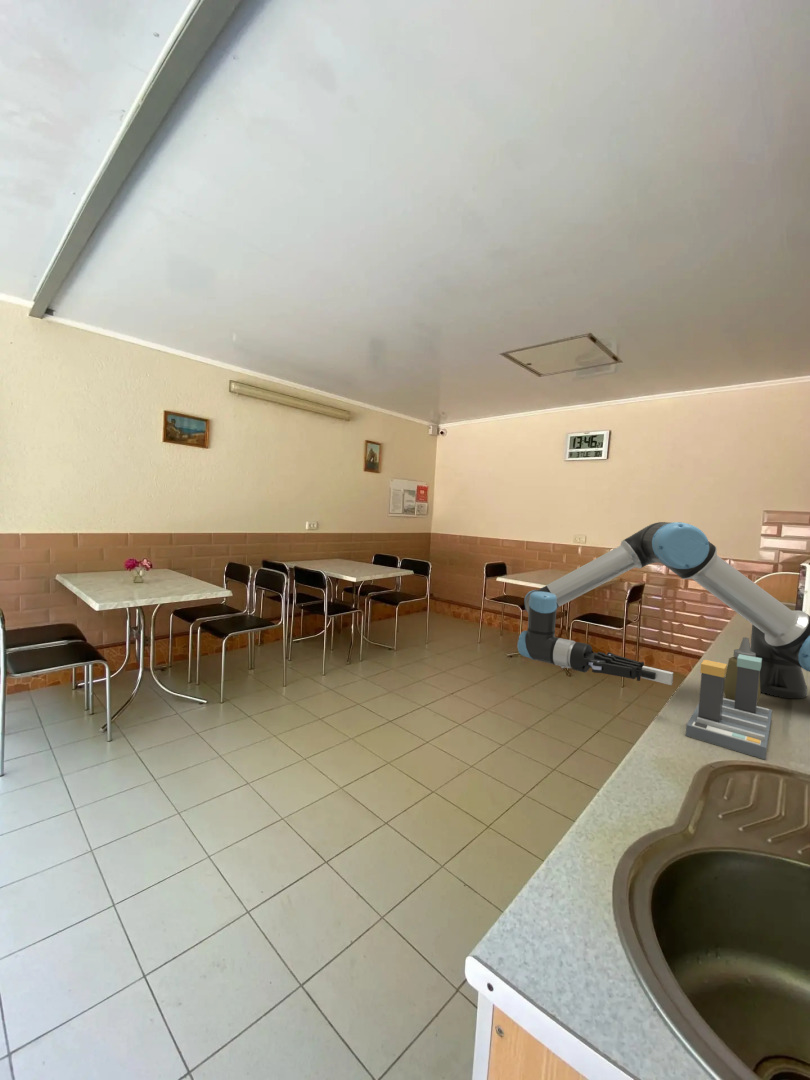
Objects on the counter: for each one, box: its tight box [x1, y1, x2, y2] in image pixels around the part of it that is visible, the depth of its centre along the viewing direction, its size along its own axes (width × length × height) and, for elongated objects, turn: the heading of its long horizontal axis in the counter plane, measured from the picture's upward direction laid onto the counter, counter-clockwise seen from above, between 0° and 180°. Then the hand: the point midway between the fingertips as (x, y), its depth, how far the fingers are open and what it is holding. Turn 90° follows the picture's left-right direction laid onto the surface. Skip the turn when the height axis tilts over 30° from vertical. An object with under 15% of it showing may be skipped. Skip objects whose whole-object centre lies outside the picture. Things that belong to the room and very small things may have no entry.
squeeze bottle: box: [723, 637, 762, 704], centre depth 119 cm, size 8×8×18 cm
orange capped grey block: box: [698, 659, 728, 723], centre depth 104 cm, size 4×4×13 cm
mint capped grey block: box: [734, 654, 762, 714], centre depth 109 cm, size 4×4×13 cm
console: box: [685, 697, 773, 761], centre depth 107 cm, size 25×14×4 cm, turn 139°
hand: (672, 678), depth 109 cm, fingers closed
